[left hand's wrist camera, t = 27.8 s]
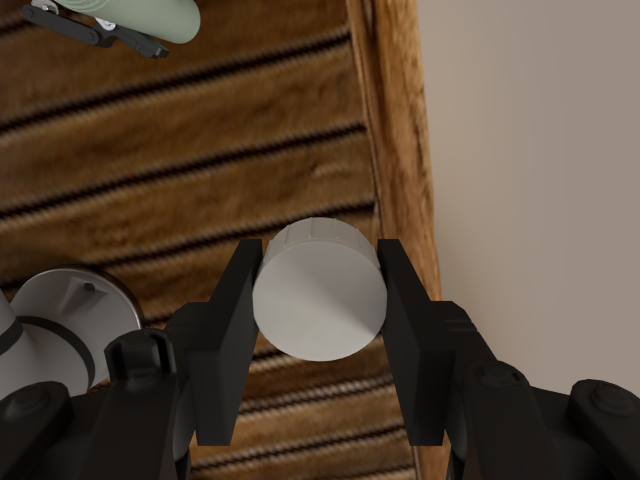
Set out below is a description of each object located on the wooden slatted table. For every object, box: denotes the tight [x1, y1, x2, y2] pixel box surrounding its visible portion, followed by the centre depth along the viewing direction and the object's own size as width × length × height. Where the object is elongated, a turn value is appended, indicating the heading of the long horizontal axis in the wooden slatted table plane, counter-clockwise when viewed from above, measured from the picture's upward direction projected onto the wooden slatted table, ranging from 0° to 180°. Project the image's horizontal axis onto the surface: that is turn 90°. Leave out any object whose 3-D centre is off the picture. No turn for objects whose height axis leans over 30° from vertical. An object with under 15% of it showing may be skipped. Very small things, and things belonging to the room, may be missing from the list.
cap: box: [252, 217, 387, 361], centre depth 14 cm, size 4×4×2 cm
